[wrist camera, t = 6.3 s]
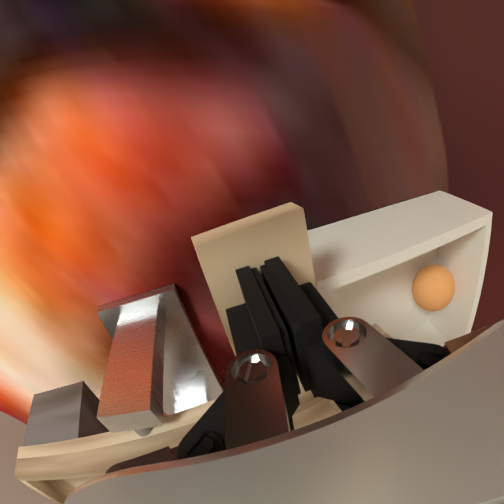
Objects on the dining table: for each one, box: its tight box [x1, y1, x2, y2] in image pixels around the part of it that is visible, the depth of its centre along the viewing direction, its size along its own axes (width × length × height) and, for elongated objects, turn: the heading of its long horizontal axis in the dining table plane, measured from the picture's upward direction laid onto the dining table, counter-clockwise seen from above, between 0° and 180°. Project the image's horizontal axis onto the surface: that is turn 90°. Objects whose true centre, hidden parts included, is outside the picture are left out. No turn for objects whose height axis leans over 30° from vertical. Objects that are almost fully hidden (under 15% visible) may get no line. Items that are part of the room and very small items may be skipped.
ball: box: [412, 264, 455, 312], centre depth 22 cm, size 4×4×4 cm
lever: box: [15, 202, 392, 504], centre depth 14 cm, size 16×24×8 cm, turn 104°
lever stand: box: [96, 283, 224, 433], centre depth 18 cm, size 13×6×10 cm, turn 14°
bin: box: [307, 191, 492, 346], centre depth 21 cm, size 15×15×6 cm
